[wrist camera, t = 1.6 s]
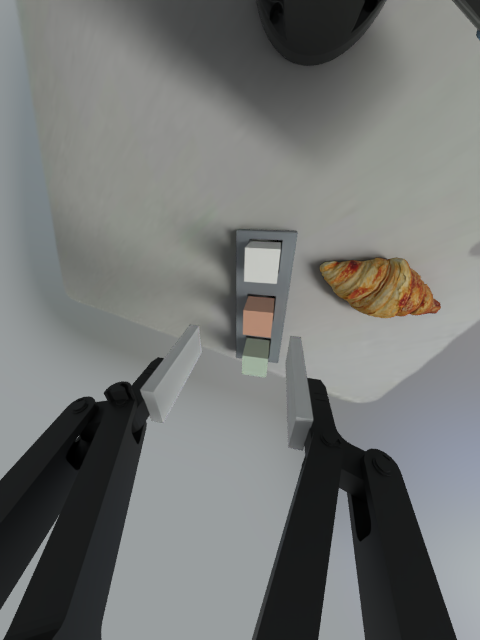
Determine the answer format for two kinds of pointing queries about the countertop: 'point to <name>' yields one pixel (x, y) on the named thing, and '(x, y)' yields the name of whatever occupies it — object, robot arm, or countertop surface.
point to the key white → (262, 262)
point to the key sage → (255, 357)
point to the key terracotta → (258, 316)
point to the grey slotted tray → (264, 286)
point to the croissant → (380, 287)
